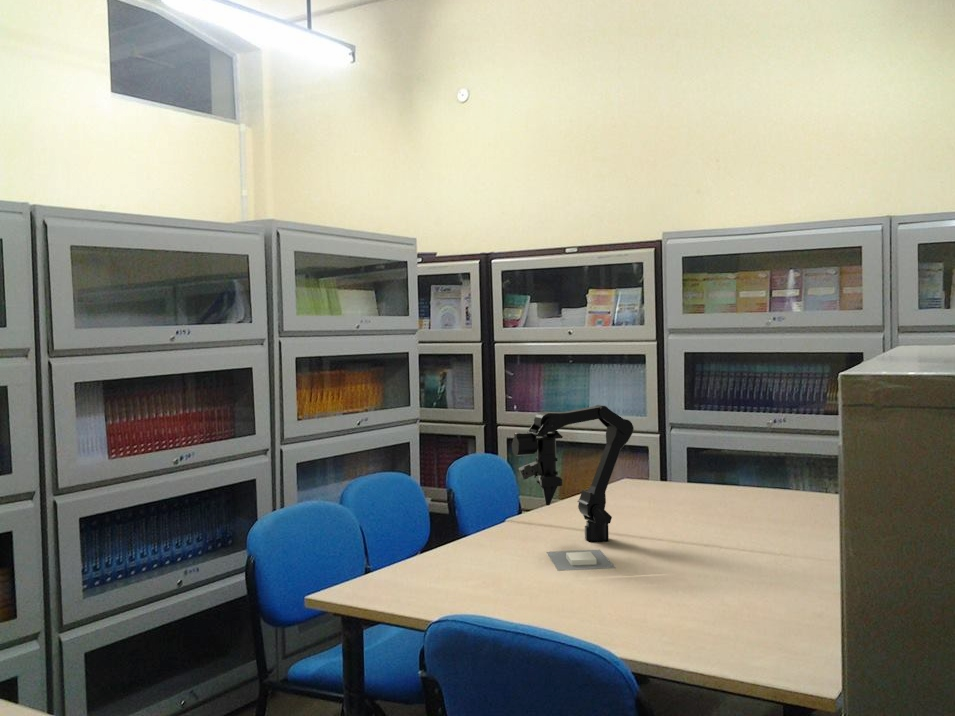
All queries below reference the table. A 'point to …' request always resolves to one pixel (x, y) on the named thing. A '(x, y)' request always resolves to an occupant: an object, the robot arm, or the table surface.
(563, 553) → the mat
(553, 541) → the table surface
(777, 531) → the table surface
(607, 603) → the table surface
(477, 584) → the table surface
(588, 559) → the tile
